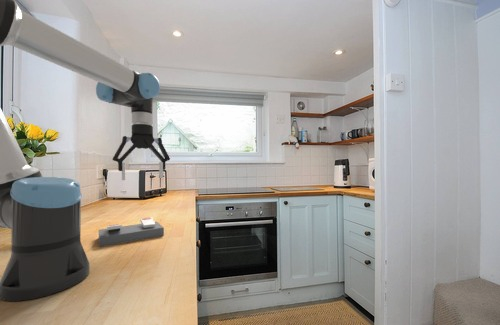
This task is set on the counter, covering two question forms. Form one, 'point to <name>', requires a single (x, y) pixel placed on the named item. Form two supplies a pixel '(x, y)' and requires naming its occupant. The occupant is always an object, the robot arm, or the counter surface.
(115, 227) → the left rocker
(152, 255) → the counter surface
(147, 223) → the right rocker
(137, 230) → the power strip
